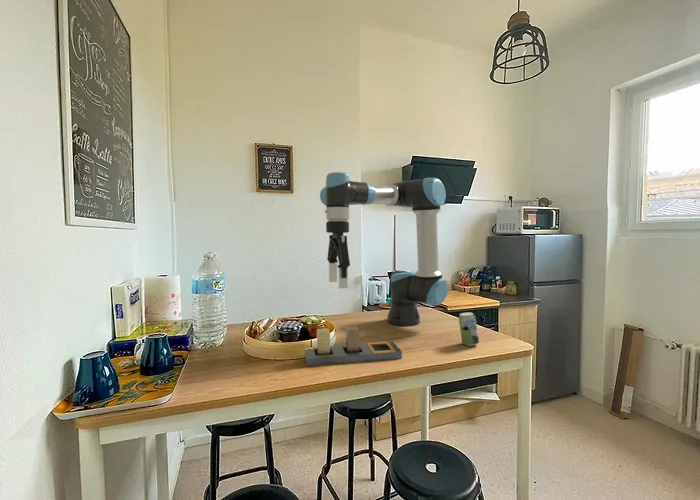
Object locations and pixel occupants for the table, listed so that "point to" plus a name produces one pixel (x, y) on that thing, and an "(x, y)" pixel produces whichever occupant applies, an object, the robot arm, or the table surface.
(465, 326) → the beverage can
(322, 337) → the pale yellow block
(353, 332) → the brown rectangular block
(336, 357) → the grey peg insertion board
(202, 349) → the table surface
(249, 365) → the table surface
